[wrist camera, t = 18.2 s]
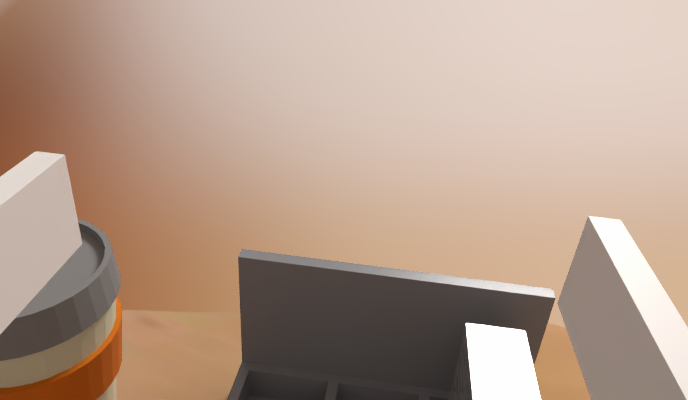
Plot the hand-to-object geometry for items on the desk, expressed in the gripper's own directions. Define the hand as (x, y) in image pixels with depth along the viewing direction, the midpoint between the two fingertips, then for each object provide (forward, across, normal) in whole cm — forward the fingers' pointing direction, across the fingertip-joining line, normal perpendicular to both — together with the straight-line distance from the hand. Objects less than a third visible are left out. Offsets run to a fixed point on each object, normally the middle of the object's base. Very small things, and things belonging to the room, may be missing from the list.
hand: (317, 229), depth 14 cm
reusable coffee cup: (+15, -22, -31) cm, 41 cm away
